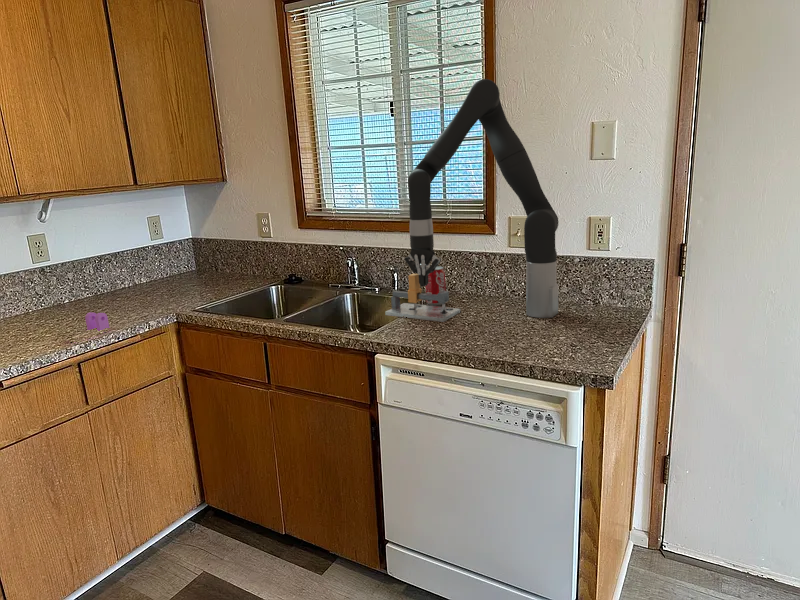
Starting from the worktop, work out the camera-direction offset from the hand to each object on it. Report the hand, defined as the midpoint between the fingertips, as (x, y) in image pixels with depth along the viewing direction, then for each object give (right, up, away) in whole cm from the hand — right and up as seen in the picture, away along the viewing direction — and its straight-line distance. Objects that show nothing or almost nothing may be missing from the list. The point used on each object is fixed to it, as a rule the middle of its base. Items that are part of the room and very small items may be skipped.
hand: (423, 285), depth 185 cm
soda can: (+5, -6, +14) cm, 17 cm away
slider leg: (-3, -7, +4) cm, 9 cm away
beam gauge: (-1, -8, +3) cm, 9 cm away
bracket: (-110, -17, -1) cm, 111 cm away
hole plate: (0, -9, +3) cm, 10 cm away
